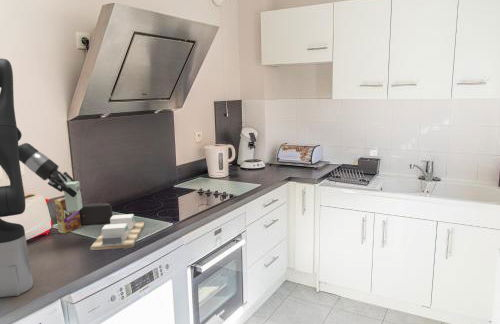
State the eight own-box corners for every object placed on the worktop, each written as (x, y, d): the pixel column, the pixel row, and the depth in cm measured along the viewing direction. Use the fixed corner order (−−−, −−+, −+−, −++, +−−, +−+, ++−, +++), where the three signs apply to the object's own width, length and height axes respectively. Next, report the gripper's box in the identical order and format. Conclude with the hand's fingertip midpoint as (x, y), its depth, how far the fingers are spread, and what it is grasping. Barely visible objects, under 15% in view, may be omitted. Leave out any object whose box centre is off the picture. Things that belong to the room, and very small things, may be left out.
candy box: (64, 234, 164) (59, 200, 161) (58, 232, 166) (53, 199, 163) (81, 227, 172) (77, 195, 169) (75, 226, 174) (71, 194, 171)
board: (132, 247, 147) (132, 244, 147) (90, 250, 146) (90, 247, 145) (145, 224, 172) (144, 221, 172) (109, 226, 171) (109, 224, 171)
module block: (79, 210, 148) (75, 183, 146) (66, 211, 148) (63, 184, 146) (83, 207, 152) (79, 181, 150) (71, 208, 152) (67, 181, 150)
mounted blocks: (124, 242, 147) (122, 230, 146) (100, 244, 147) (98, 232, 146) (137, 221, 171) (135, 211, 170) (116, 223, 170) (115, 212, 169)
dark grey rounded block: (115, 220, 180) (112, 201, 178) (112, 223, 175) (110, 204, 173) (79, 222, 178) (77, 203, 176) (76, 226, 174) (74, 206, 172)
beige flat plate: (122, 244, 147) (122, 243, 147) (101, 246, 146) (101, 244, 146) (135, 222, 171) (135, 221, 171) (117, 223, 171) (117, 222, 171)
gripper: (39, 161, 139) (77, 191, 142) (55, 155, 153) (89, 182, 156) (26, 176, 139) (64, 205, 142) (44, 169, 153) (78, 196, 156)
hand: (77, 193), depth 149 cm, fingers closed on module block, 4 cm apart
